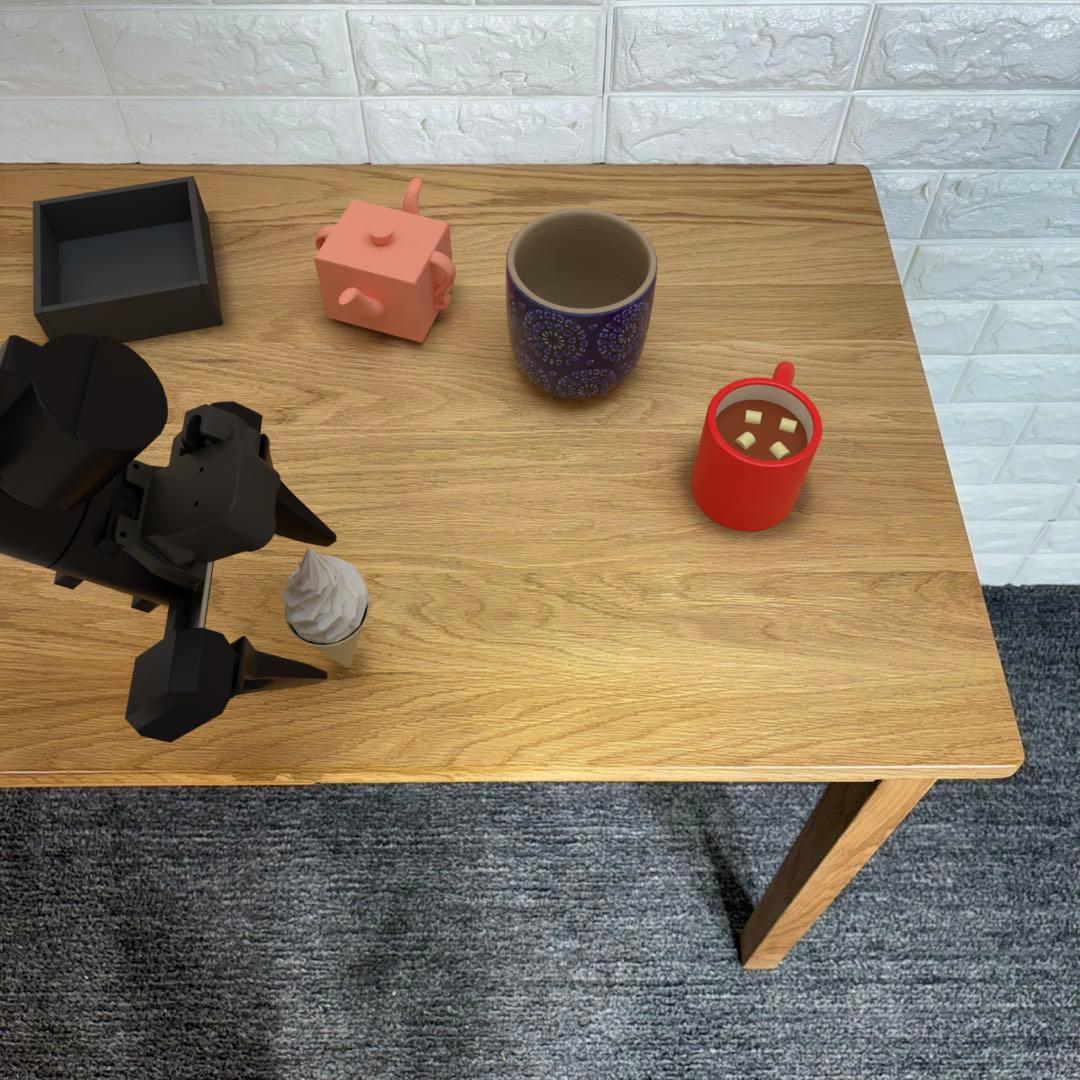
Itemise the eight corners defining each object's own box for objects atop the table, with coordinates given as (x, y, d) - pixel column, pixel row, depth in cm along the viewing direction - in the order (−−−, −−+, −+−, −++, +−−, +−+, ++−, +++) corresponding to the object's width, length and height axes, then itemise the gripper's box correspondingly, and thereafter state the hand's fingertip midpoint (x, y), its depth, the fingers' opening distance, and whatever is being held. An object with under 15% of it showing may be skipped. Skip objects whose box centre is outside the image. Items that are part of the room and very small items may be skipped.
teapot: (288, 351, 81) (265, 274, 74) (364, 231, 88) (350, 150, 81) (424, 389, 79) (414, 313, 72) (490, 262, 86) (487, 182, 79)
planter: (592, 296, 84) (601, 187, 75) (669, 380, 80) (689, 275, 70) (482, 347, 81) (476, 240, 72) (555, 438, 76) (559, 336, 67)
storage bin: (57, 354, 80) (33, 313, 76) (54, 244, 87) (32, 201, 83) (223, 324, 82) (208, 283, 78) (208, 218, 89) (193, 175, 85)
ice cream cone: (395, 684, 66) (364, 571, 53) (320, 710, 65) (270, 601, 52) (373, 620, 68) (338, 497, 55) (300, 645, 67) (248, 525, 54)
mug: (818, 421, 78) (845, 352, 71) (783, 544, 72) (809, 481, 65) (719, 393, 79) (737, 323, 72) (677, 512, 73) (693, 447, 66)
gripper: (110, 625, 40) (412, 714, 50) (174, 291, 50) (417, 420, 60) (-1, 708, 47) (287, 773, 56) (75, 398, 56) (309, 499, 66)
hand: (328, 607), depth 59 cm, fingers open, 9 cm apart
